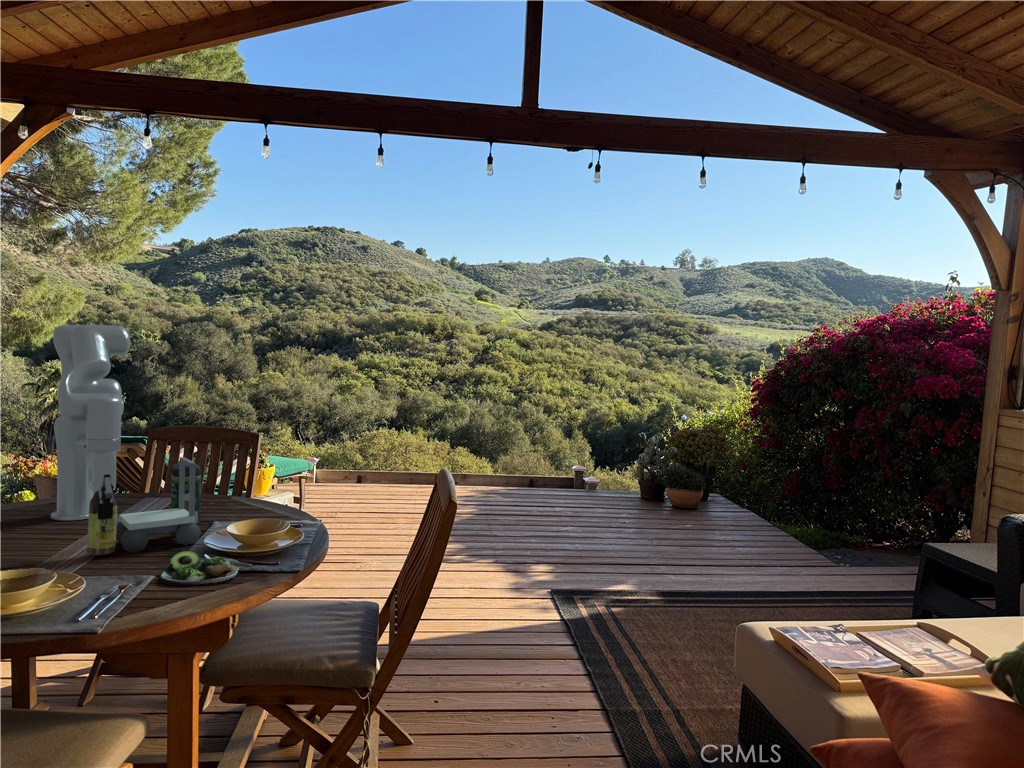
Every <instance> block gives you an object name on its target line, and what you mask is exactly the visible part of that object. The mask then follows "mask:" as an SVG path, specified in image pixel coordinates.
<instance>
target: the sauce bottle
mask: <svg viewBox="0 0 1024 768" xmlns="http://www.w3.org/2000/svg"><path fill="white" fill-rule="evenodd" d="M112 487H113V486H112ZM101 491H105V489H101ZM102 496H103V494H102ZM112 497H113V518H111V519H102V520H99V519H98V503H99V491H97V492H96V493H95V495H94V496H93V498H92V499H91V501H90V507H89V518H87V519H88V521H87V523H88V524H87V527H88V528H87V545H86V547H87V553H88V555H91V556H105V555H109V554H112V553H114V552H115V550H116V546H117V540H116V529H117V523H118V504H117V502H116V498H115V495H114V491H112ZM102 498H103V497H102Z"/></svg>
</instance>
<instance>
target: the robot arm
mask: <svg viewBox="0 0 1024 768" xmlns="http://www.w3.org/2000/svg"><path fill="white" fill-rule="evenodd" d="M52 336H53V337H52V339H53V341H52V342H53V344H54V349H55V351H56V353H57V355H58V358H59V361H60V364H61V369H60V371H61V375H60V376H61V377H60V381H59V383H58V387H57V400H58V403H57V404H58V409H59V414H60V416H58V417H57V418H56V419H55V421H54V422H53V430H54V431H53V432H54V440H55V445H56V457H57V459H56V463H57V464H56V466H57V469H56V471H57V472H56V473H57V474H56V477H57V478H56V479H57V480H56V482H57V483H56V510H55V511H53V512H51V513H50V519H52V520H55V521H64V522H65V521H78V520H79V521H80V520H86V519H89V507H90V501H91V499H92V498H93V496H94V495H95V493H96V492H97V491H99V503H98V519H99V520H102V519H111V518H113V497H112V491H113V492H114V491H115V490H116V489H117V488H116V487H117V453H118V452H121V450H122V449H121V446H122V445H121V444H122V439H121V438H122V436H121V435H122V415H124V411H125V406H124V405H125V404H124V400H123V393H122V387H121V384H120V383H119V381H117V380H115V379H113V378H106V377H107V376H108V374H109V373H110V371H111V367H112V365H111V362H110V361H111V360H110V356H125V355H127V354H128V352H130V349H131V337H130V333H129V331H128V330H127V329H126V328H125V327H124V326H121V325H109V324H62V325H59V326H56V327H55V329H54V330H53V333H52ZM112 486H113V487H112ZM101 489H105V491H101ZM102 494H103V496H102ZM102 497H103V498H102Z"/></svg>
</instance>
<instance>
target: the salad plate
mask: <svg viewBox="0 0 1024 768" xmlns="http://www.w3.org/2000/svg"><path fill="white" fill-rule="evenodd" d="M251 567H253V564H252V563H246V562H239V561H238V560H237V559H233V558H226V556H224V557H223V556H217V555H216V556H213V557H208V558H204V557H200V555H199V554H198V553H196V552H194V551H191V550H182V551H180V552H177V553H175V554H174V555H173V556H171V557H170V559H169V565H168V566H167V567H166V568H165V569H164V570H163V572H162V573H161V575H160V576H159V580H160V581H161V582H162V583H163V582H164V583H163V584H165V585H168V584H169V585H168V586H175V585H183V586H184V585H186V586H200V585H199V584H203V585H210V584H209V583H212V584H219V583H218V582H221V583H223V582H222V581H225V582H227V581H226V580H228V581H230V580H229V579H231V578H233V577H234V578H236V577H235V576H237V575H238V574H239V572H238V570H239V568H243V569H246V568H251ZM226 570H228V571H229V570H233V571H231V572H228V573H227V574H226V576H225V577H221V576H220V577H215V578H211V579H206V578H205V577H208V576H216V575H220V574H222V573H224V572H225V571H226ZM237 573H238V574H237ZM204 578H205V579H204ZM208 578H209V577H208ZM234 578H233V579H234ZM200 580H201V581H200ZM231 580H232V579H231Z"/></svg>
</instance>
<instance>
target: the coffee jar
mask: <svg viewBox="0 0 1024 768" xmlns="http://www.w3.org/2000/svg"><path fill="white" fill-rule="evenodd" d="M189 475H190V467H189V466H187V465H185V500H184V509H185V510H187V511H188V512H189ZM170 477H171V481H170V482H171V484H170V485H171V486H170V487H171V488H170V505H171V506H170V509H176V508H179V461H178V462H177V463H174V464H173V465H172V466H171V476H170ZM201 480H202V468H201V467H200V466H199V465H198V464H196V474H195V522H194V523H195V524H196V525H198V524H200V523H201V485H202V484H201V483H202V482H201Z"/></svg>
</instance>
